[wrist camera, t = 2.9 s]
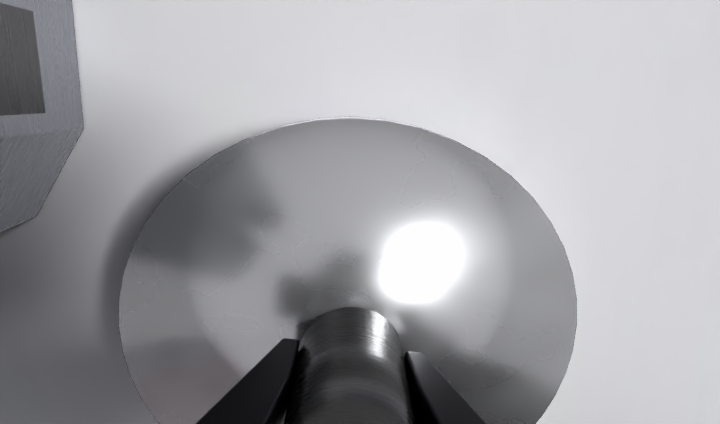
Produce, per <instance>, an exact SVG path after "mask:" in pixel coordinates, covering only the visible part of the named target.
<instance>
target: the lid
mask: <svg viewBox="0 0 720 424" xmlns="http://www.w3.org/2000/svg"><path fill="white" fill-rule="evenodd" d="M576 327H577V297H576V291H575V285H574V279H573V273H572V270H571V267H570V264H569V261H568V258H567V255H566V252H565V248H564V246H563V244H562V242H561V240H560V238H559V236H558V234H557V233H556V231H555V229H554V227H553V225H552V223H551V221H550V220H549V218H548V217H547V216H546V214H545V213H544V212H543V210H542V209H541V208H540V206H539V205H538V204H537V202H536V201H535V199H534V198H533V197H532V196H531V195H530V194H529V193H528V192H527V191H526V190H525V189H524V188H523V187H522V186H521V185H520V184H519V183H518V182H517V181H516V180H515V179H514V178H513V177H512V176H511V175H509V174H508V173H507V172H505V171H504V170H503V169H501V168H500V167H498V166H497V165H496V164H494V163H493V162H492V161H490V160H489V159H488V158H486V157H485V156H483V155H481V154H479V153H477V152H475V151H474V150H472V149H470V148H468V147H466V146H464V145H462V144H460V143H458V142H457V141H455V140H452V139H450V138H448V137H445V136H443V135H440V134H437V133H434V132H432V131H429V130H426V129H423V128H421V127H418V126H415V125H410V124H405V123H401V122H396V121H391V120H387V119H378V118H365V117H334V118H318V119H313V120H308V121H303V122H298V123H293V124H288V125H284V126H281V127H278V128H275V129H272V130H270V131H267V132H264V133H261V134H258V135H255V136H253V137H250V138H248V139H245V140H243V141H241V142H239V143H237V144H235V145H233V146H232V147H230V148H228V149H226V150H224V151H222V152H220V153H218V154H216V155H214V156H213V157H211V158H210V159H209V160H207V161H206V162H204V163H203V164H202V165H200V166H199V167H197V168H196V169H195V170H193V171H192V172H190V173H189V174H188V175H186V176H185V177H184V178H183V179H182V180H181V181H180V182H179V183H178V184H177V185H176V186H175V187H174V188H173V189H172V190H171V191H170V192H169V193H168V194H167V195H166V196H165V197H164V198H163V199H162V201H161V202H160V203H159V205H158V206H157V207H156V209H155V210H154V211H153V213H152V214H151V215H150V217H149V218H148V219H147V221H146V222H145V224H144V226H143V228H142V230H141V232H140V234H139V236H138V237H137V239H136V241H135V243H134V245H133V247H132V250H131V253H130V256H129V259H128V262H127V265H126V268H125V270H124V273H123V279H122V285H121V292H120V298H119V330H120V336H121V343H122V349H123V354H124V357H125V360H126V363H127V366H128V369H129V373H130V376H131V378H132V380H133V382H134V384H135V386H136V388H137V390H138V392H139V394H140V396H141V399H142V400H143V402H144V403H145V405H146V406H147V408H148V409H149V411H150V412H151V414H152V415H153V417H154V418H155V419H156V421H157V422H158V423H159V424H196V423H197V422H198V421H199V420H200V419H201V418H202V417H203V416H204V415H205V414H206V413H207V412H208V411H209V410H210V409H211V408H212V407H213V406H214V405H215V404H216V403H217V402H218V401H219V400H220V399H221V398H222V397H223V396H224V395H225V394H226V393H227V392H228V391H229V390H230V389H231V388H233V387H234V386H235V385H236V384H237V383H238V382H239V381H240V380H241V379H242V378H243V377H244V376H245V375H246V374H247V373H248V372H249V371H250V370H251V369H252V368H253V367H254V366H255V365H256V364H257V363H258V362H259V361H260V360H261V359H262V358H263V357H264V356H265V355H266V354H267V353H268V352H269V351H270V350H271V349H272V348H274V347H275V346H276V345H277V344H278V343H279V342H280V341H281V340H282V339H283V338H289V339H297V340H299V342H300V345H299V353H298V358H297V363H296V367H295V372H294V377H293V382H292V386H291V391H290V396H289V400H288V405H287V410H286V414H285V419H284V424H416V421H415V415H414V410H413V405H412V400H411V395H410V389H409V384H408V379H407V374H406V369H405V363H404V355H405V353H406V352H407V351H412V352H420V353H422V354H424V355H425V356H426V358H427V359H428V360H429V361H430V362H431V363H432V364H433V365H434V366H435V367H436V369H437V370H438V371H439V372H440V373H441V374H442V375H443V376H444V377H445V378H446V380H447V381H448V382H449V383H450V384H451V385H452V386H453V387H454V388H455V390H456V391H457V392H458V393H459V394H460V395H461V396H462V397H463V398H464V399H465V401H466V402H467V403H468V404H469V405H470V406H471V407H472V408H473V409H474V410H475V412H476V413H477V414H478V415H479V416H480V417H481V418H482V419H483V420H484V421H485V423H486V424H536V422H537V421H538V420H539V419H540V418H541V416H542V415H543V414H544V412H545V411H546V409H547V407H548V406H549V404H550V403H551V401H552V400H553V398H554V397H555V395H556V393H557V391H558V389H559V386H560V384H561V382H562V380H563V378H564V376H565V374H566V371H567V367H568V364H569V361H570V358H571V354H572V351H573V346H574V340H575V333H576Z"/></svg>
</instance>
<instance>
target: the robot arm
mask: <svg viewBox="0 0 720 424" xmlns="http://www.w3.org/2000/svg"><path fill="white" fill-rule="evenodd" d="M299 345H300V342H299V340H297V339H289V338H283V339H282V340H281V341H280V342H279V343H278V344H277V345H276V346H275V347H274V348H272V349H271V350H270V351H269V352H268V353H267V354H266V355H265V356H264V357H263V358H262V359H261V360H260V361H259V362H258V363H257V364H256V365H255V366H254V367H253V368H252V369H251V370H250V371H249V372H248V373H247V374H246V375H245V376H244V377H243V378H242V379H241V380H240V381H239V382H238V383H237V384H236V385H235V386H234V387H233V388H231V389H230V390H229V391H228V392H227V393H226V394H225V395H224V396H223V397H222V398H221V399H220V400H219V401H218V402H217V403H216V404H215V405H214V406H213V407H212V408H211V409H210V410H209V411H208V412H207V413H206V414H205V415H204V416H203V417H202V418H201V419H200V420H199V421H198V422H197V423H196V424H284V419H285V414H286V410H287V405H288V400H289V396H290V391H291V386H292V382H293V377H294V372H295V367H296V363H297V358H298V353H299ZM404 363H405V369H406V374H407V379H408V384H409V389H410V395H411V400H412V405H413V410H414V415H415V421H416V424H486V423H485V421H484V420H483V419H482V418H481V417H480V416H479V415H478V414H477V413H476V412H475V410H474V409H473V408H472V407H471V406H470V405H469V404H468V403H467V402H466V401H465V399H464V398H463V397H462V396H461V395H460V394H459V393H458V392H457V391H456V390H455V388H454V387H453V386H452V385H451V384H450V383H449V382H448V381H447V380H446V378H445V377H444V376H443V375H442V374H441V373H440V372H439V371H438V370H437V369H436V367H435V366H434V365H433V364H432V363H431V362H430V361H429V360H428V359H427V358H426V356H425V355H424V354H422V353H420V352H412V351H407V352H406V353H405V355H404Z"/></svg>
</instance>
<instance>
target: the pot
mask: <svg viewBox="0 0 720 424" xmlns="http://www.w3.org/2000/svg"><path fill="white" fill-rule="evenodd" d="M83 128H84V125H83V114H82V104H81V93H80V82H79V72H78V61H77V50H76V40H75V29H74V18H73V8H72V0H0V232H2V231H4V230H7V229H9V228H11V227H14V226H16V225H18V224H21V223H23V222H25V221H28V220H30V219H32V218H35V217H36V216H37V214H38V212H39V210H40V208H41V206H42V204H43V203H44V201H45V199H46V197H47V195H48V193H49V191H50V190H51V188H52V186H53V184H54V182H55V180H56V178H57V177H58V175H59V173H60V171H61V169H62V167H63V165H64V164H65V162H66V160H67V158H68V156H69V154H70V153H71V151H72V149H73V147H74V145H75V143H76V141H77V140H78V138H79V136H80V134H81V132H82V130H83Z"/></svg>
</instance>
